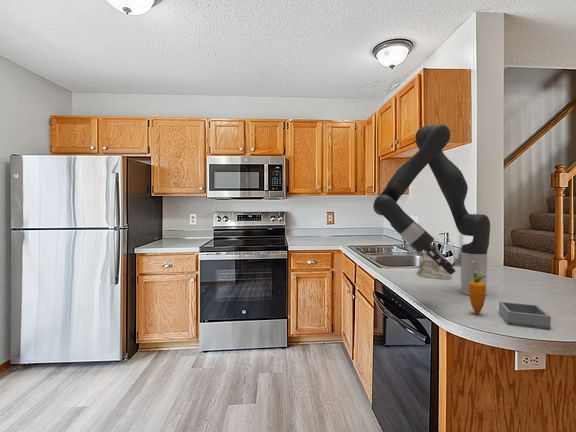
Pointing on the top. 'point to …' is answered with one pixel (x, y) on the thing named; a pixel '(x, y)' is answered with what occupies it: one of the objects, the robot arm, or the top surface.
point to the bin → (524, 315)
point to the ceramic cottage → (432, 269)
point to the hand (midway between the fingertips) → (451, 270)
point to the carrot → (477, 292)
